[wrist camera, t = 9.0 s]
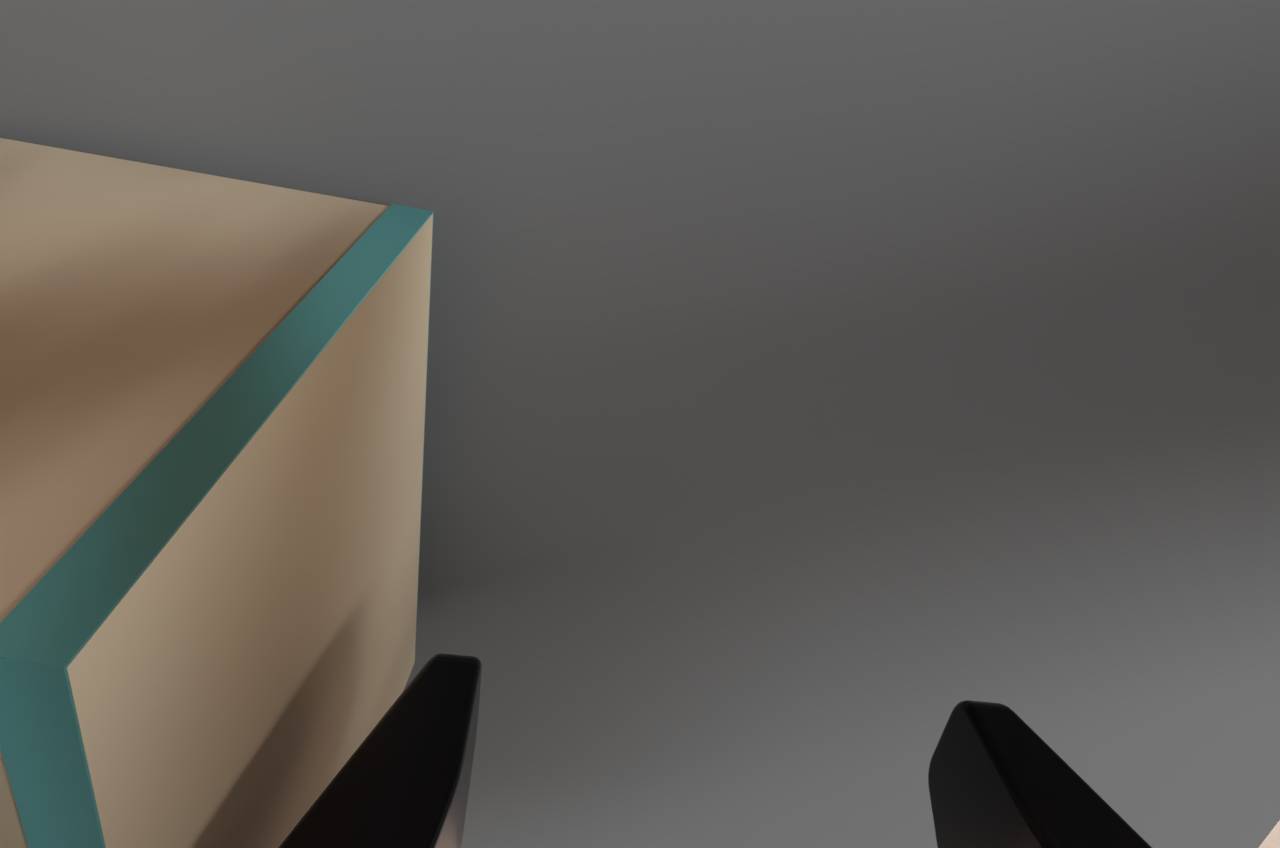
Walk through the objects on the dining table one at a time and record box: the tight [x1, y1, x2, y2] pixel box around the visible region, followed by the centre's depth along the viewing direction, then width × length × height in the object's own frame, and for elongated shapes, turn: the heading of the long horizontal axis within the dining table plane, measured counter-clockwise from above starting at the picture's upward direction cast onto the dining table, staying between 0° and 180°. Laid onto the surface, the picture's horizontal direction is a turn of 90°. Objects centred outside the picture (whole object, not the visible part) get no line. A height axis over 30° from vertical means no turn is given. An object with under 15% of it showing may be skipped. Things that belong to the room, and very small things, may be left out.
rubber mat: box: [0, 0, 1280, 848], centre depth 12 cm, size 28×14×1 cm, turn 82°
